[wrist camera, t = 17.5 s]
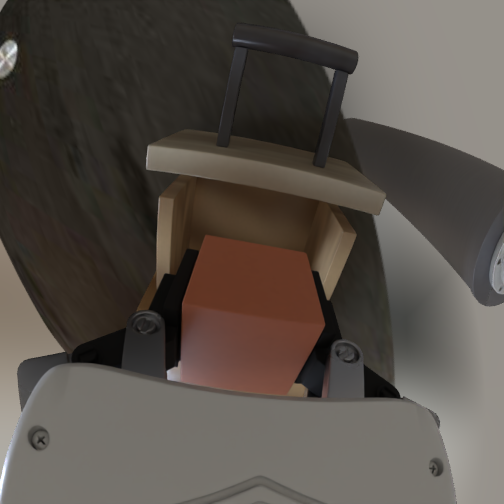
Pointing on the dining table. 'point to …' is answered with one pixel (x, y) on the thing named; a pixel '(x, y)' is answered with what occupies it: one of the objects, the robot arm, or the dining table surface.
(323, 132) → the drawer
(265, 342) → the block
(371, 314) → the dining table surface
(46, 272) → the dining table surface
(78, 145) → the dining table surface
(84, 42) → the dining table surface
